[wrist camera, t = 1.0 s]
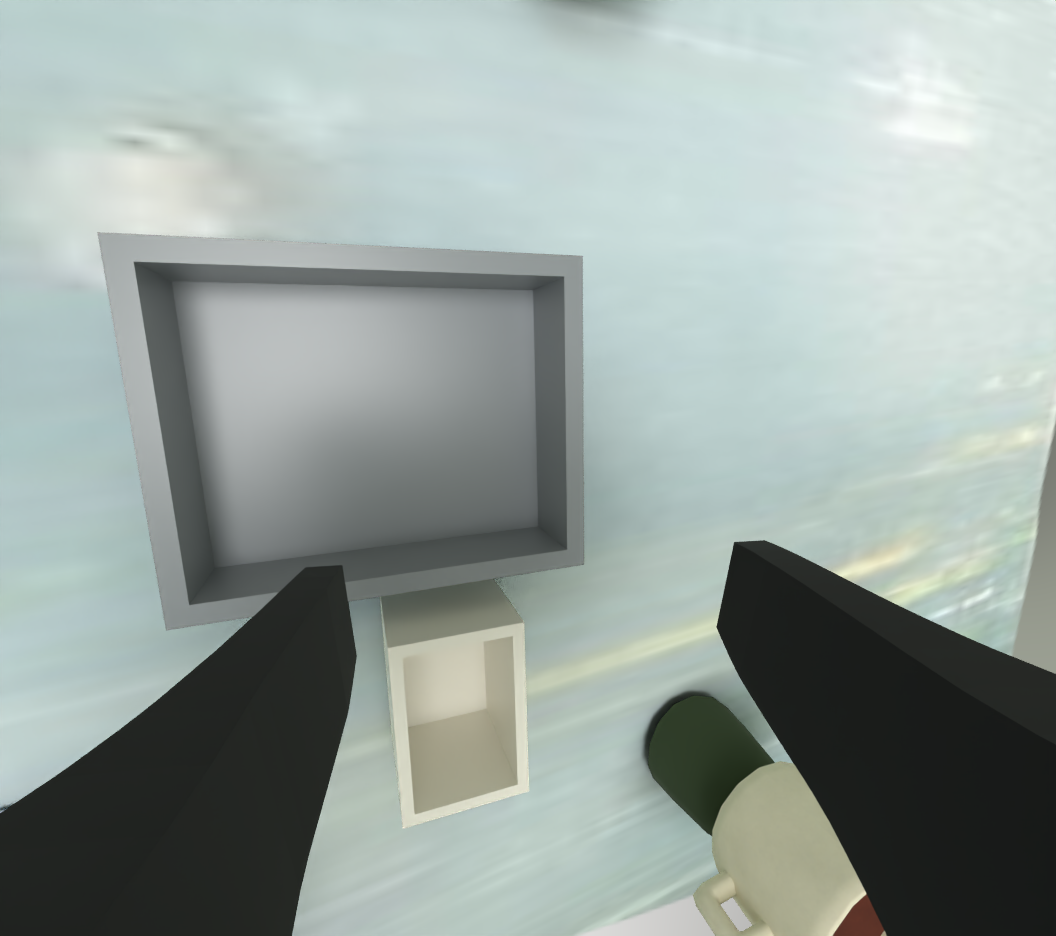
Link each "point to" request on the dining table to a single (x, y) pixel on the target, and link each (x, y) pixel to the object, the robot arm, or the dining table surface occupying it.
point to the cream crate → (455, 698)
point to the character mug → (757, 830)
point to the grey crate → (347, 414)
